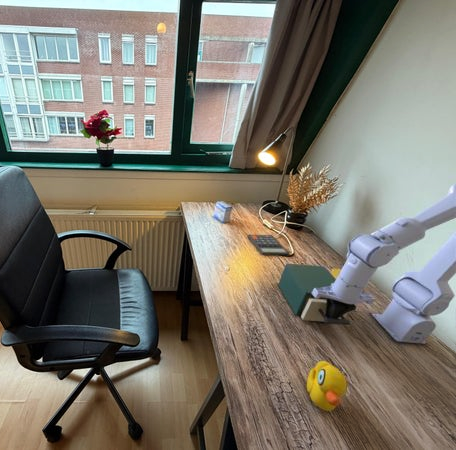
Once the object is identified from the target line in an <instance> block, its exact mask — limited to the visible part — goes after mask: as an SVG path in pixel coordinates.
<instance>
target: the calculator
mask: <svg viewBox="0 0 456 450" xmlns="http://www.w3.org/2000/svg"><path fill="white" fill-rule="evenodd" d="M247 237H248V238H249V240H250V242H252V244H253V245H254V247H255V248H256V249H257V250H258V251H259V252H260V254H261V255H268V256H270V255H271V256H272V255H273V256H289V255H290V252H289V251H288V250H287V249H286V248H285V247H284V246H283V245H282V244H281V243H280V242H279V241H278V239H276V238H275V236H273V235H272V234H247Z"/></svg>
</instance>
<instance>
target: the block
mask: <svg viewBox="0 0 456 450" xmlns="http://www.w3.org/2000/svg"><path fill="white" fill-rule="evenodd" d="M341 270H342V268H335V267H333V268H332V269H331V271H330V273H331V274H332V276H333V277H334V278H335V279H337V277H338V275H339V273H340V272H341Z"/></svg>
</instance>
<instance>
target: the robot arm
mask: <svg viewBox="0 0 456 450" xmlns="http://www.w3.org/2000/svg"><path fill="white" fill-rule="evenodd" d="M454 219H456V183H453V184H452V185H451V186H450V188H449V189H448V191H447V193H446V196H445V197H443V198H441V199H440V200H438V201H437V202H435V203H433V204H432V205H430V206H428V207H427V208H425V209H424V210H422V211H421V212H419V213H418V214H415V216H413V217H400V218H398V219H396V220H394V221H393V222H391V223H389V224H387V225H385V226H383V227H381V228H380V229H378V230H376V231H374V232H372V233H366V234H365V233H364V234H363V233H361V234H358V235H356V236H355V237H354V238H352V240H351V241H349V242H348V243H347V253H346V255H345V257H346V261H345V263H344V265H343V266H342V268H341V269H342V270H341V272H340V273H339V275H338V277H337V279H336V281H335V282H334V283H332V284H331V286H328V287H323V288H314V289H313V291H312V294H313V296H314V297H315V299H319V298H320V297H321V298H326V303H327V306H326V314H325V315H326V317H327V318H336V319H338V318H339V317H341V316H342V315H344V314H345V313H348V312H349V313H350V312H352V311H353V312H354V311H355V310H356V309H357V306H356V304H361V303H366V304H367V305H372V304H373V302H374V301H376V300H375V299H376V298H374V297H373V295H371V294H370V293H369V292H364V291H365V289H366V287H367V286H368V284H369V282H370V281H371V279H372V278H373V276H374V275H375V273H376V271H377V270H378V268H381V267H384V266H385V265H388V264H389V263H390V262H391V261H392V260H393V259H394V258H395V257H396V256H398V255H399V254H400V251H401V250H404V249H406V248H407V247H409V246H411V245H413V244H416V243H417V242H419V241H421V240H423V239H424V238H425V236H426V231H428V230H431V229H433V228H436V227H437V226H440V225H443V224H445V223H447V222H450V221H452V220H454ZM454 276H456V230H455V231H454V232H453V233H452V234H451V236H450V237H449V238H448V239H447V240H446V241H445V243H444V244H443V245H441V247H440V248H439V250H437V251H436V252H435V254H434V255H433V256H432V257H431V258H430V260H429V261H428V262H427V263H426V264H425V265H424V267H422V269H420V270H406V271H405V272H404V273H403V274H402V275H401V276H399V277H398V278H396V279H395V280H393V282H392V283H391V286H390V287H391V288H390V289H391V291H392V296H393V298H392V300H391V301H390V303H389V304H388V305H387V307H386V308H385V309H384V311H383V312H382V313H372V314H371V315H372V318H374V319H375V320H376V321H377V322H378V323H379V325H380V326H381V327H383V329H384V330H385V331H386V332H387V333H388V334H389V335H390V337H392V338H393V340H394V341H395V342H399V343H408V344H409V343H411V344H422V345H425V344H426V340H427V339H428V337H429V336H430V335H431V334H432V333H433V332H434V331H435V329H436V327H437V325H436V323H435V321H434V320H433V319H432V317H434V316H437V315H440V314H442V313H444V312H445V311H446V310H447V309H448V307H449V305H450V303H451V301H452V300H453V299H454V297H455V293H454V291H453V290H452V288H451V285H450V284H449V281H450V280H451V279H452V278H453V277H454ZM349 313H348V314H349ZM431 316H432V317H431Z"/></svg>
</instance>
